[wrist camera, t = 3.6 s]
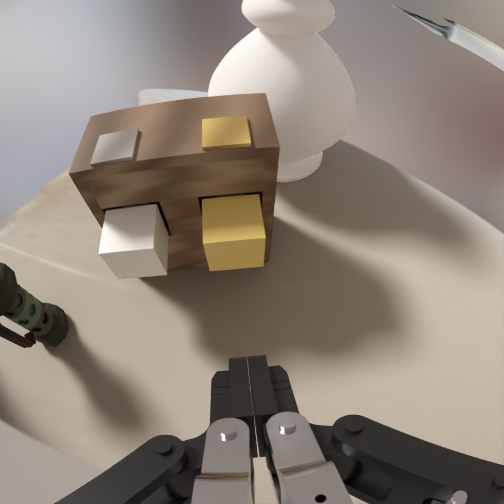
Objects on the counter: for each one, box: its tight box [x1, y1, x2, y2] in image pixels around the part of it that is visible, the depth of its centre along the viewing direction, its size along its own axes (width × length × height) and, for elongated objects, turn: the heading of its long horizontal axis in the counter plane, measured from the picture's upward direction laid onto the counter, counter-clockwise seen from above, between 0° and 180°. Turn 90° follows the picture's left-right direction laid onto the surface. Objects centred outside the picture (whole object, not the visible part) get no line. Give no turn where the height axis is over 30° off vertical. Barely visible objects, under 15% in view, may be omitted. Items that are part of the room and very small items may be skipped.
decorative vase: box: [208, 0, 356, 182], centre depth 32 cm, size 18×18×25 cm
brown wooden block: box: [69, 93, 280, 270], centre depth 28 cm, size 15×7×16 cm, turn 96°
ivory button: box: [99, 202, 168, 279], centre depth 25 cm, size 4×6×4 cm
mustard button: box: [202, 193, 266, 271], centre depth 26 cm, size 4×6×4 cm
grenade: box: [0, 263, 68, 348], centre depth 23 cm, size 6×6×15 cm
